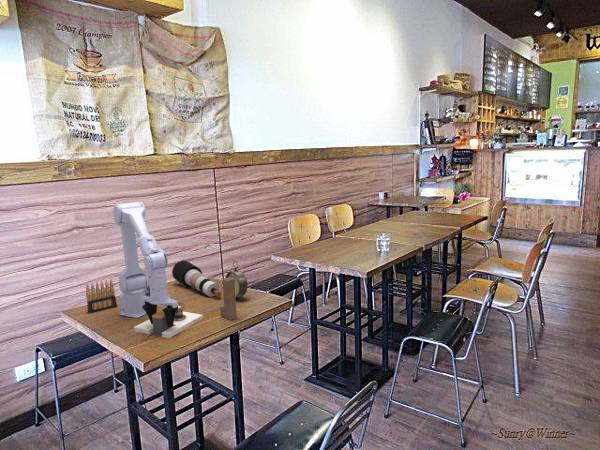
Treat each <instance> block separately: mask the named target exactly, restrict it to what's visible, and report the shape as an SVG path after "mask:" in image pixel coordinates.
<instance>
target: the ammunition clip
mask: <svg viewBox="0 0 600 450" xmlns="http://www.w3.org/2000/svg"><path fill="white" fill-rule="evenodd" d="M104 282H105V284H104ZM104 282H103V280H101V281H100V284H99V282H98V281H96V282H95V286H94V283H93V282H91V284H90V286H89V284H88V283H86V285H85V286H86V287H85V289H86V303H87V304H86V306H87V313H88V314H89V315H90V314H94V313H99V312H104V311H107V310H110V309H111V310H112V309H115V308H117V307H118V305H117V299H116V293H115V287H114V283H113V280H112V278H110V279H109V282H108V280H107V279H105V281H104ZM90 290H91V291H90Z"/></svg>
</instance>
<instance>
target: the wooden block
mask: <svg viewBox="0 0 600 450" xmlns="http://www.w3.org/2000/svg"><path fill="white" fill-rule="evenodd" d="M221 280H222V293H223V294H222V295H223V296H222V297H223V304H222V305H220V306H219V313H220V316H221V317H223V318H225V319H227V320H228V321H232V320H234V319H237V318H238V315H237V312H238V311H237V303H236V302H237V301H236V298H237V297H236V298H235V284H234V279H233V278H230V277H229V278H226V277H225V278H222V279H221Z"/></svg>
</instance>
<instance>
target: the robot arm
mask: <svg viewBox="0 0 600 450" xmlns="http://www.w3.org/2000/svg"><path fill="white" fill-rule="evenodd" d="M112 210H113V218H114V223H115V226H119V227H120V234H121V240H122V241H121V243H122V249H123V255H124V256H123V257H124V264H125V267H124V268H123V269H122V270H121V271H120V273H119V274H118V286H119V290H120V292H121V293H120V295H119V305H120V306H119V307H120V313H119V316H122V317H123V316H125V317H128V318H129V317H130V318H135V319H138V318H140V317H142V316H145V315H147V317H148V320H150V322H151V324H153V320H152V315H154V314H156V313H158V306H164V308H162V310H163V312H164V314H165V317H166V322H167V326H168V327H171V326H173V324H174V318H175V314H176V311H177V309H178V307H179V306H178V303H179V301H178V300H176V299H173V298H171V296H170V295H169V294H168V293H169V292H168V284H167V282H168V281H167V273H166V272H167V271H166V268H167V267H168V264H169V263H168V262H169V261H168V256H167V254H166V251H164V250H163V249H162V248H160V246H159V245H158V242H157V241H156V238H155V236H154V235H152V234H150V232H149V229H148V227H147V224H146V221H145V219H146V206H145V204H144V203H143V202H142V201H136V202H135V201H133V202H126V203H116V204H114V206H113V209H112ZM136 235H137V237H138V240H137V237H136ZM137 244H138V245H137ZM138 247H139V250H140V251H141V254H142V256H143V265H144V267H141V266H140V262H139V261H140V260H139V255H138ZM148 286H149V288H150V296H145V291H146V288H148Z"/></svg>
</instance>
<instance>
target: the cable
mask: <svg viewBox="0 0 600 450" xmlns="http://www.w3.org/2000/svg"><path fill="white" fill-rule="evenodd" d="M171 273H172V277H173V279H174V280H175V281H177V282H178V283H179V284H182V286H185V287H186V288H193V289H195V290H196V291H199V292H201V293H203V294H204V295H206V296H208V297H209V298H212V296H213V297H215V296H216V297H221V296H222V295H223V294H222V293H223V292H221V291H220V285H218V283H216V282H214V281H213V280H212V279H211V278H208V276H206V275H205V274H203V272H202V270H201V269H200V267H198V266H197V265H194V264H193V263H191V261H187V260H180V261H177V262H176V263H175V264H174V265H173V267H172V270H171Z"/></svg>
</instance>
